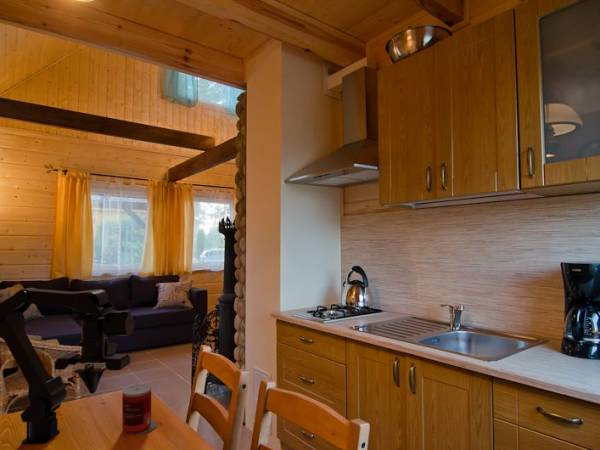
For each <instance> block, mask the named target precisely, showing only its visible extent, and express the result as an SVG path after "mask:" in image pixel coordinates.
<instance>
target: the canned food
mask: <svg viewBox="0 0 600 450" xmlns="http://www.w3.org/2000/svg"><path fill="white" fill-rule="evenodd" d="M121 401H122V405H121V406H122V410H121V411H122V412H121V413H122V419H121V420H122V431H123V432H124V433H125V434H127V435H135V434H138V433H141V432H144V431H146V430H147V429H148V428H149V427H150V425H151V421H152V386H151V385H149V384H147V383H138V384H133V385H130V386H127V387H125V388H124V389H123V390H122V400H121Z"/></svg>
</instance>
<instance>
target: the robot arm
mask: <svg viewBox="0 0 600 450" xmlns="http://www.w3.org/2000/svg"><path fill="white" fill-rule="evenodd" d="M32 305H41V306H42V305H43V306H56V307H66V308H69V309H72V310H73V311H76V312H79V313H78V314H77V315H76V316H75V317H73V321H75V322H76V321H77V322H79V321H80V322H81V340H80V341H79V342H78V344H77V345H78V347H81V349H80V350H81V353H66V354H65V355H62V356H60V357H57V358H56V359H55V361H54V370H59V371H60V370H61V371H62V370H63V371H64V370H66V369H67V368H68V367H69V365H70V366H74V365H75V367H76V369H75V370H74V373H75V374H77V375H78V377H80V379H81V381H83V383H84V385H85V386H86V388H87V390H88V392H89V394H96V391H97V388H98V387H99V384H100V381H101V378H102V376H103V374H104V372H105V371H106V370H108V371H121V370H122V369H124V368H126V367H127V366H129V365H130V364H131V356H130V355H129V354H128V353H116V351H117V345H118V344H117V343H115V342H110V341H109V338H108V337H120V336H121V337H122V336H123V337H128V336H131V335H132V334H133V331H134V329H135V320H134V317H133V315H132V311H131V309H130V310H127V309H126V310H119V311H118V310H117V308H116V307H115V306H114V304H113V303H112V301H111V300H110V299H109V295H108V293H106V291H105V290H104V289H89V290H81V291H67V290H55V289H43V288H36V287H27V288H21V289H20V290H18V291H16V292H15V293H14V294H13V295H12V296H10V297H8V298H7V299H5V300H4V301H1V302H0V338H1V339H2V340H3V341H4V342H5V345H6V346H7V349H8V350H9V352H10V353H11V356H12V358H13V359H14V361H15V363H16V364H17V366H18V368H19V370H20V372H21V373H22V376H23V377H24V379H25V381H26V383H27V385H28V388H27V389H28V390H27V399H28V403H29V406H27V408H26V409H24V410H23V411H22V413H21V414H20V419H21V421H22V422H23V423H26V436H25V437H26V438H24V439H23V440H21V443H22V444H37V445H39V444H46V443H47V442H49V441H50V440H52V439H53V438H54V437H56V436H57V435H59V434H60V433H61V429H58V425H59V424H58V422H59V419H58V418H57V412H55V411H56V410H58V409H60V408H61V405H62V403H63V402H64V401H65V400H66V398H67V394H68V393H67V390H66V388H67V387H68V386H67V385H66V384H65V383H64V381H63V379H62V376H61V375H56V376H52V375H50V373H48V370H47V369H46V368H45V365H44V363H43V362H42V360H41V358H40V356H39V354H38V352H37V351H36V349H35V347H34V345H33V344H32V342H31V340H30V338H29V336H28V334H27V333H26V331H25V323H26V318H25V315H24V313H26V311H28V310H29V309H30V307H31V306H32ZM110 355H112V356H110ZM108 356H110V357H108Z"/></svg>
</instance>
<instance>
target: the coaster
mask: <svg viewBox="0 0 600 450" xmlns="http://www.w3.org/2000/svg"><path fill="white" fill-rule="evenodd" d="M157 428H158V422H157V421H154V420H151V425H150V427H149V428H148V429H147V430H146V431H144V432H141V433H138V434H134V435H145V434H149V433H151V432H153V431H155V430H156V429H157Z"/></svg>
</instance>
